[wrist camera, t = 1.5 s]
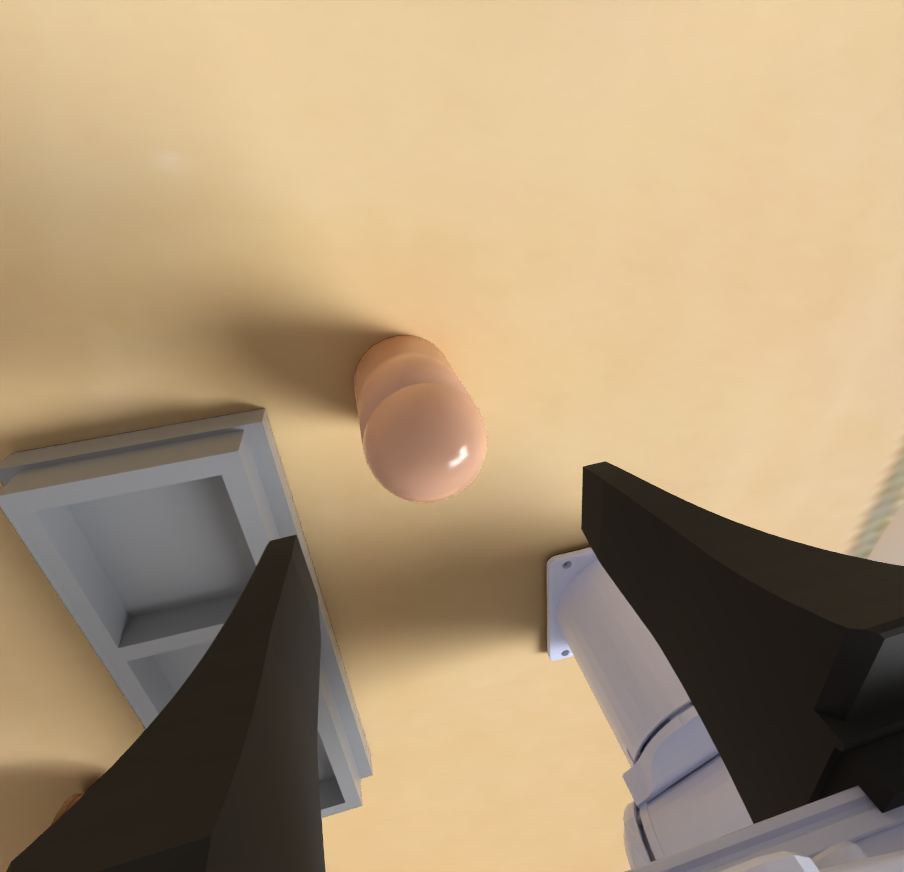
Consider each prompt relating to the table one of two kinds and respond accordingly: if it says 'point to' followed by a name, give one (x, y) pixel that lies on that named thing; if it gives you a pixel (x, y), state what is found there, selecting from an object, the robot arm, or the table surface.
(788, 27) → the table surface
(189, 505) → the grey compartment tray
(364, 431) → the tan rounded cylinder
